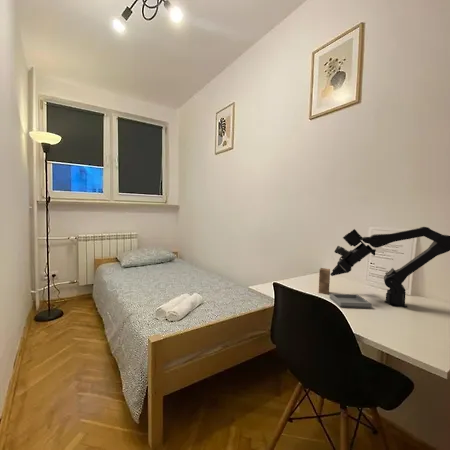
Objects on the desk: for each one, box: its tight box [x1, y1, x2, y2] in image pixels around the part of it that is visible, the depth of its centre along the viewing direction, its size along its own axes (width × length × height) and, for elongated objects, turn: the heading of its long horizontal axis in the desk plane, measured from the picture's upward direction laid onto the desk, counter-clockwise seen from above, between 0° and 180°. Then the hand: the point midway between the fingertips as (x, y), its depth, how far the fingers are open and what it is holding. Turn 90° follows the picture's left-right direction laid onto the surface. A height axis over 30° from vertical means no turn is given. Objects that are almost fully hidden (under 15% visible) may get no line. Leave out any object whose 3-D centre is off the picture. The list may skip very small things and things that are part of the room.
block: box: [318, 267, 331, 295], centre depth 128 cm, size 4×4×12 cm
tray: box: [329, 293, 372, 309], centre depth 113 cm, size 13×12×2 cm
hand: (331, 273), depth 126 cm, fingers open, 9 cm apart
